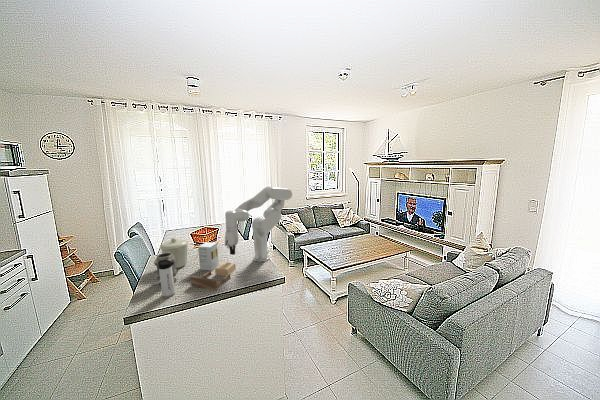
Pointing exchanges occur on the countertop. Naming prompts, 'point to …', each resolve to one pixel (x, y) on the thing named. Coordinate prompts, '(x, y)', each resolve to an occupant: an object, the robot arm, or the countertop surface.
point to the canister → (176, 250)
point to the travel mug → (166, 278)
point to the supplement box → (208, 256)
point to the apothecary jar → (166, 257)
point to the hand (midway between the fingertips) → (232, 254)
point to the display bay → (207, 281)
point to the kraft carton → (225, 269)
